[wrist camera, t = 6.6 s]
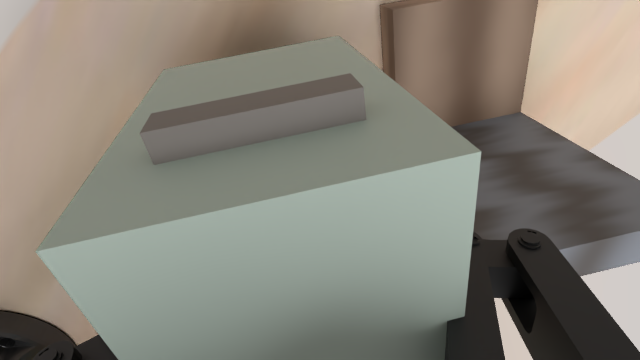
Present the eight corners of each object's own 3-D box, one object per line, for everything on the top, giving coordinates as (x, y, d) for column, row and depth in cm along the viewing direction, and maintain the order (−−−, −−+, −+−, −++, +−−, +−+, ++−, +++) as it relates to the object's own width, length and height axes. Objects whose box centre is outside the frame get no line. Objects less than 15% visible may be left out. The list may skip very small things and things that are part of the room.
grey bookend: (387, 148, 35) (495, 297, 20) (379, 4, 28) (534, 62, 13) (497, 125, 36) (683, 251, 20) (515, -21, 29) (812, 6, 14)
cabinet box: (236, 262, 23) (230, 506, 13) (156, 51, 16) (6, 214, 6) (361, 233, 23) (451, 443, 13) (336, 17, 16) (485, 111, 6)
